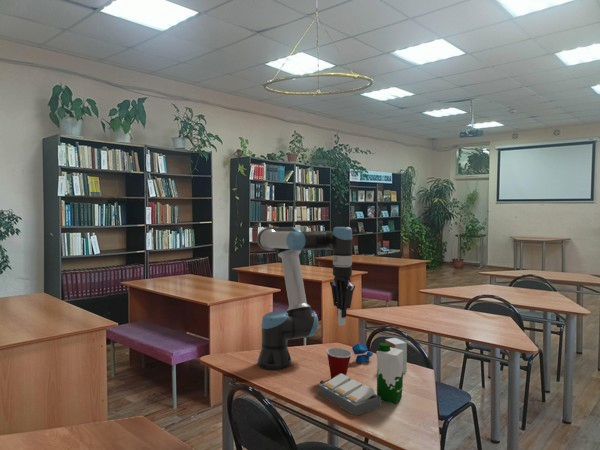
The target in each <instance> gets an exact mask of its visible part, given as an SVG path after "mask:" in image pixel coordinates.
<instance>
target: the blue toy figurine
mask: <svg viewBox="0 0 600 450" xmlns="http://www.w3.org/2000/svg"><path fill="white" fill-rule="evenodd" d="M351 348H352V349H351V350H352V352H353V354H354V355H356V358H355V361H356V363H359V364H364V363H367V362H369V360H370V357H372V356H373V354H374V352H372V351H369V349H368V347H367V345H366V344H365V343H364V344H363V343H360V342H358V343H355V344H354V345H353V346H351Z"/></svg>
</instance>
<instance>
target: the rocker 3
mask: <svg viewBox="0 0 600 450" xmlns="http://www.w3.org/2000/svg"><path fill="white" fill-rule="evenodd" d="M374 394H375V389H374V388H372V387H370V386H368V385H366V384H362V386H361V387H360V388H358V389H357V390H355V391H354V392H352V393H350V394H349V395H347V396H346V398H347V399H348V400H350V401H352V402H354V403H355V404H356V403H359V402H362V401H365V400H366V399H368V398H369V397H371V396H372V395H374Z"/></svg>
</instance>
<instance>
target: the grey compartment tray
mask: <svg viewBox="0 0 600 450" xmlns="http://www.w3.org/2000/svg"><path fill="white" fill-rule="evenodd" d="M326 382H327V381H325V380H320V382H319V384H318V395H320V396H322V397H323V398H325V399H327V400H329V401H330V402H332V403H333V404H335V405H337V406H338V407H340V408H342V409H343V410H345V411H346V412H349V413H350V414H352V415H354V416H355V417H356V416H359V415H362V414H365V413H367V412H371V411H373V410H376V409H379V408H382V401H381V397H380V396H378V395H377V393H376V394H374V395H372V396H371V397H369V398H368V399H366V400H365V401H362V402H359V403H356V404H355V403H354V402H352V401H350V400H348V399H347V398H346V396H344V397H343V396H341V395H339V394H338V393H336V392H335V390H330V389H329V388H327V387H325V386H324V383H326Z"/></svg>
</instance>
